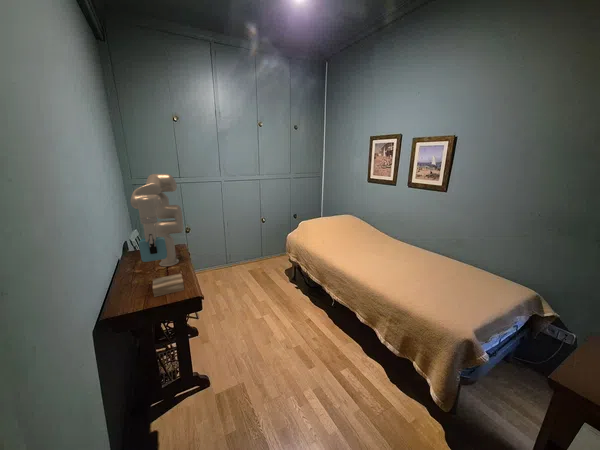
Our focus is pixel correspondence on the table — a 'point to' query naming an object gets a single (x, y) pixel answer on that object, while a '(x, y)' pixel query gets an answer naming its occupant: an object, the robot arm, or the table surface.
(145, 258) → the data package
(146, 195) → the robot arm
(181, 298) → the table surface
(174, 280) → the birch riser block
